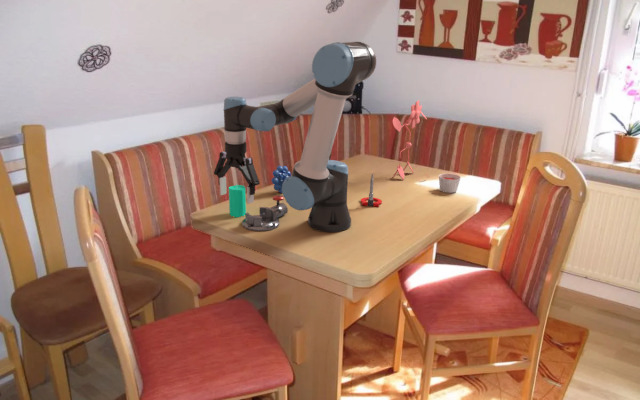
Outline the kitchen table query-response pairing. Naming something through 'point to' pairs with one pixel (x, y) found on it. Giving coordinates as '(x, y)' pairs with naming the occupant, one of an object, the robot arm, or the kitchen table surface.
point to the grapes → (280, 177)
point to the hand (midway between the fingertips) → (236, 198)
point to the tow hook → (371, 197)
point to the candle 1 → (237, 200)
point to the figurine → (415, 120)
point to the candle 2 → (449, 182)
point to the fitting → (266, 217)
